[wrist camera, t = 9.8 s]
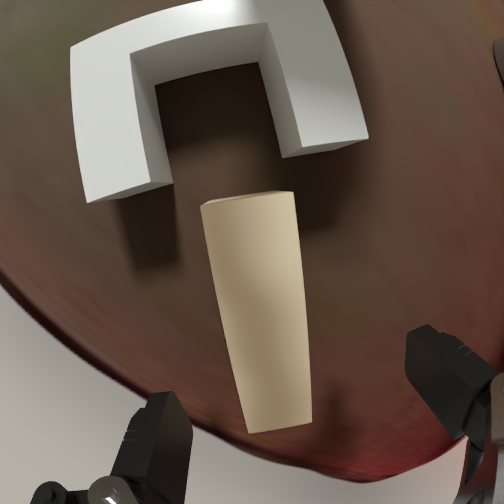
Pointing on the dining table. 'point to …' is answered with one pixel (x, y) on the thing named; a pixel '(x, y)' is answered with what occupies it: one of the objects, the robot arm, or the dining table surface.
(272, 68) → the end cap
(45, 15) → the dining table surface
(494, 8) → the dining table surface
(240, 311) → the beige wooden block
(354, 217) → the dining table surface
